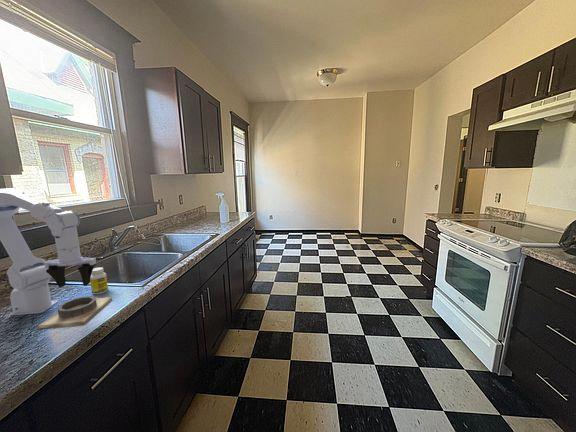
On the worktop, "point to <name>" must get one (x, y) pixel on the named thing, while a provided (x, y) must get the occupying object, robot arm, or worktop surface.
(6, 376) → the worktop surface
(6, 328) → the worktop surface
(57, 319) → the socket plate
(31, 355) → the worktop surface
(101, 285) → the supplement bottle
